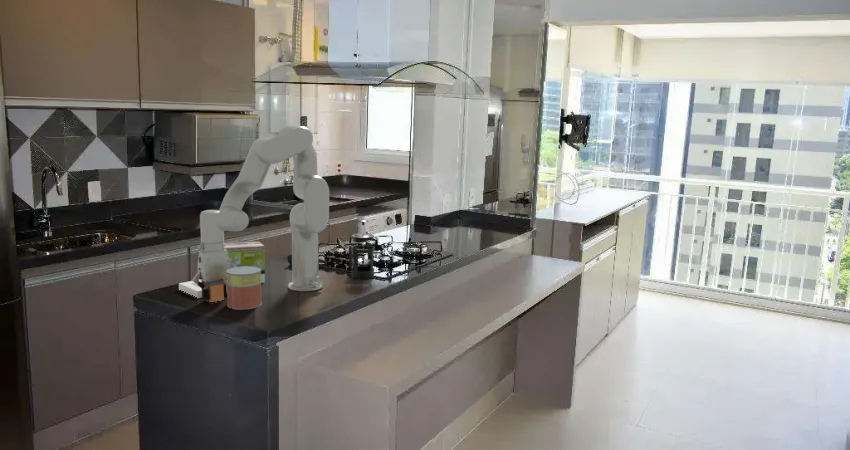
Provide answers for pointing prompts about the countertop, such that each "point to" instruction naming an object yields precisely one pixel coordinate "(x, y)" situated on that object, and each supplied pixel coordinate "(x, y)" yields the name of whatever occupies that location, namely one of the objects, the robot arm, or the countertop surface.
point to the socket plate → (191, 288)
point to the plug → (216, 290)
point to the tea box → (247, 255)
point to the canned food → (244, 287)
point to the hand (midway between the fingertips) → (214, 297)
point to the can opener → (318, 261)
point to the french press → (362, 271)
